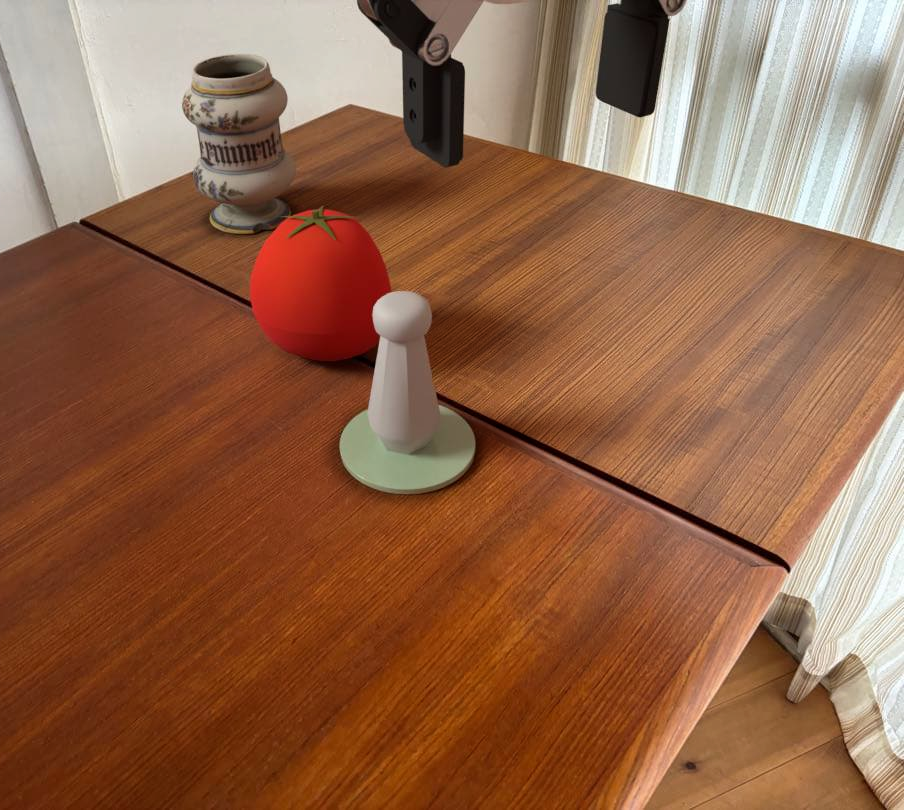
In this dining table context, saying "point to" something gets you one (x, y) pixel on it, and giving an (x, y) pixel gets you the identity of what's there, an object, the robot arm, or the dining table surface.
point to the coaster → (408, 456)
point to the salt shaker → (403, 374)
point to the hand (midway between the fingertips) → (533, 130)
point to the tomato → (319, 286)
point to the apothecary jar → (240, 142)
